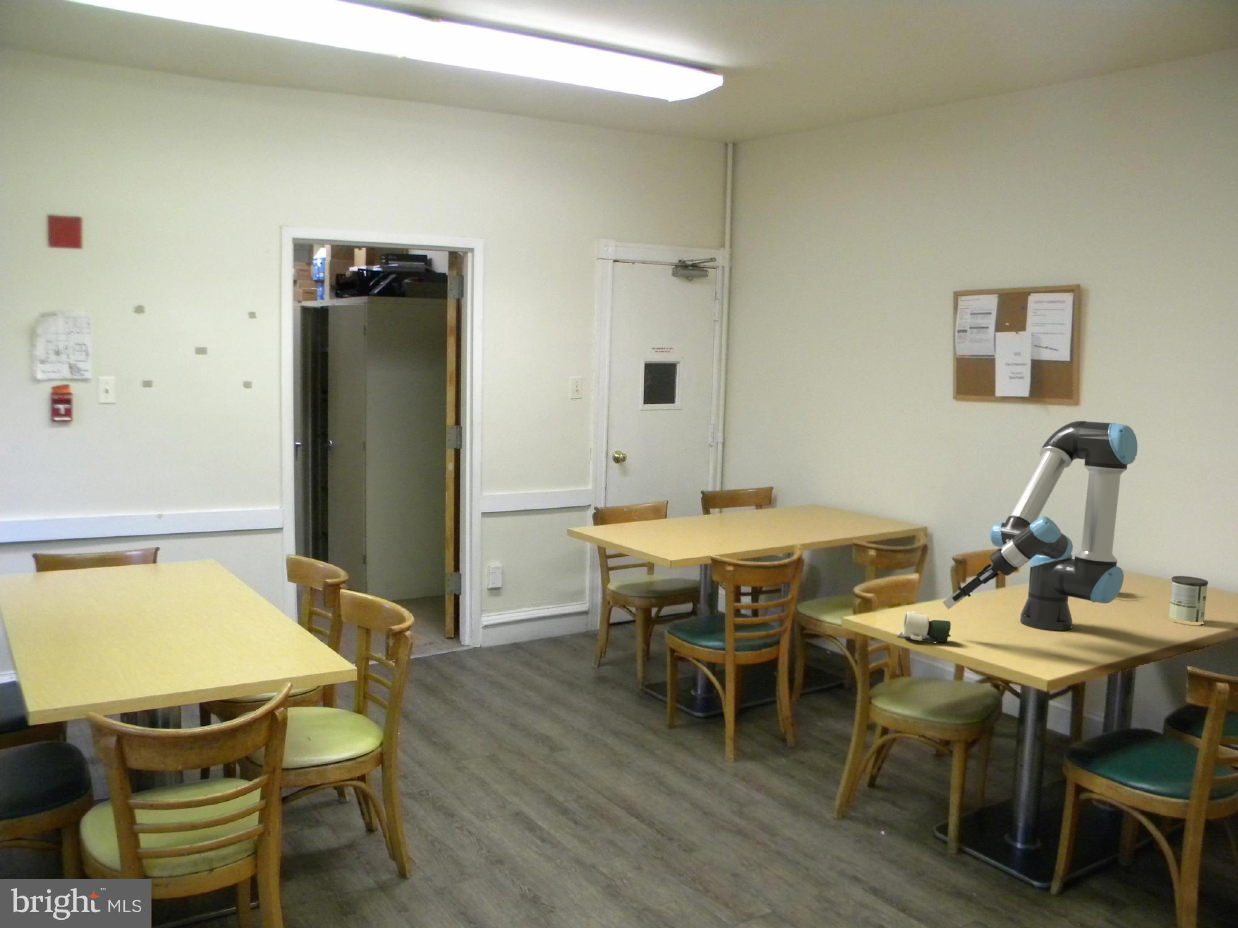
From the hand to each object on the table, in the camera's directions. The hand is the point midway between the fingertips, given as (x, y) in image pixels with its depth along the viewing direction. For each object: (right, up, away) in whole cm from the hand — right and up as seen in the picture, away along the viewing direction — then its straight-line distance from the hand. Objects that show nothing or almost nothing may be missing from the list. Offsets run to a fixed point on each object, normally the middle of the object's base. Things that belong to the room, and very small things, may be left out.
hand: (946, 605), depth 298 cm
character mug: (0, -7, -6) cm, 9 cm away
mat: (-6, -9, +3) cm, 11 cm away
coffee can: (+88, -10, +30) cm, 94 cm away
